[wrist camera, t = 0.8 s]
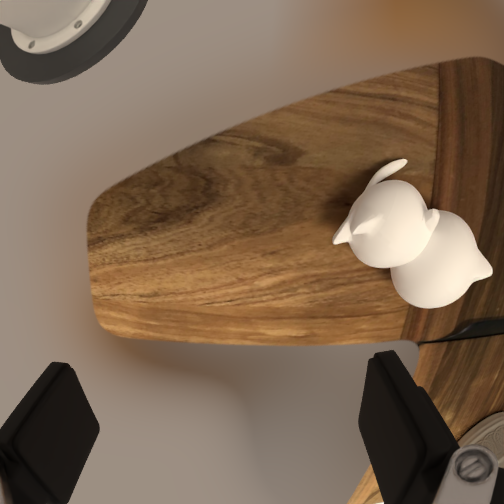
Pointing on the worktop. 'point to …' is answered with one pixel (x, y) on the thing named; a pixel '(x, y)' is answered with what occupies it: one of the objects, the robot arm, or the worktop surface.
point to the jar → (488, 436)
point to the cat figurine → (412, 242)
